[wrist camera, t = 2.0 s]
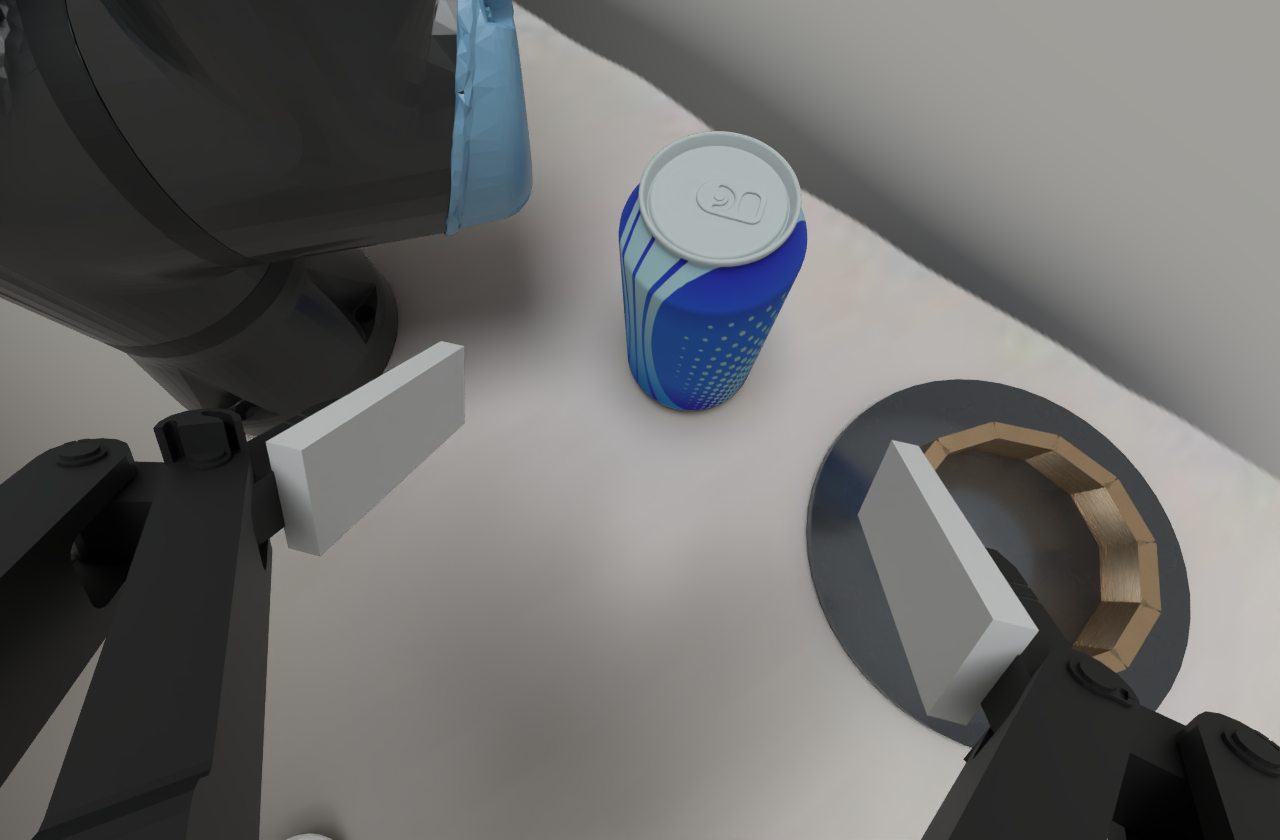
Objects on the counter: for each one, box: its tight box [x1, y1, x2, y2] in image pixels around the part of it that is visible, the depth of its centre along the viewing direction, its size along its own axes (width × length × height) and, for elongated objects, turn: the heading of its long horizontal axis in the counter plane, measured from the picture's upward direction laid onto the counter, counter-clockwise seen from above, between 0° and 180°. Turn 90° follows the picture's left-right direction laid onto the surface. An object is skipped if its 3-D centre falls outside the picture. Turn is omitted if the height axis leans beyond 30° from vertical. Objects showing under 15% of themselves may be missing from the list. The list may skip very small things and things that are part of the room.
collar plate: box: [806, 379, 1190, 748], centre depth 30 cm, size 22×22×4 cm
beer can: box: [619, 131, 807, 411], centre depth 28 cm, size 8×8×16 cm
